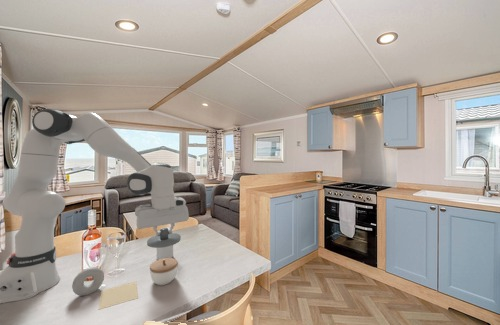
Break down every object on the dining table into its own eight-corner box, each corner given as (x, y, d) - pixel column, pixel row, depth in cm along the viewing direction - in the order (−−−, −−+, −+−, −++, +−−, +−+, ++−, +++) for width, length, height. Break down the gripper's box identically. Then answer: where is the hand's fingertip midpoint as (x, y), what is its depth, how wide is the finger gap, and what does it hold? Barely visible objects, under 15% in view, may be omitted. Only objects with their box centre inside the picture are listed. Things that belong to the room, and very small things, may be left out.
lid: (148, 250, 81) (148, 237, 81) (145, 239, 92) (145, 227, 92) (183, 242, 87) (183, 230, 87) (177, 233, 99) (176, 222, 98)
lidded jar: (143, 287, 86) (143, 264, 86) (162, 273, 97) (162, 252, 96) (166, 292, 83) (166, 268, 83) (182, 277, 93) (182, 255, 93)
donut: (102, 286, 87) (102, 261, 86) (105, 289, 85) (105, 264, 84) (71, 298, 79) (70, 272, 79) (73, 302, 77) (73, 275, 77)
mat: (98, 311, 73) (98, 309, 73) (101, 291, 83) (101, 290, 83) (138, 299, 79) (138, 297, 79) (136, 282, 89) (136, 281, 89)
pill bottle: (162, 262, 106) (161, 232, 106) (153, 257, 111) (153, 229, 111) (176, 256, 112) (176, 228, 112) (167, 252, 117) (167, 225, 117)
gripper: (135, 207, 81) (136, 243, 82) (189, 200, 91) (190, 232, 92) (134, 203, 86) (135, 237, 87) (185, 197, 97) (186, 227, 98)
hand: (164, 234), depth 90 cm, fingers closed on lid, 3 cm apart
